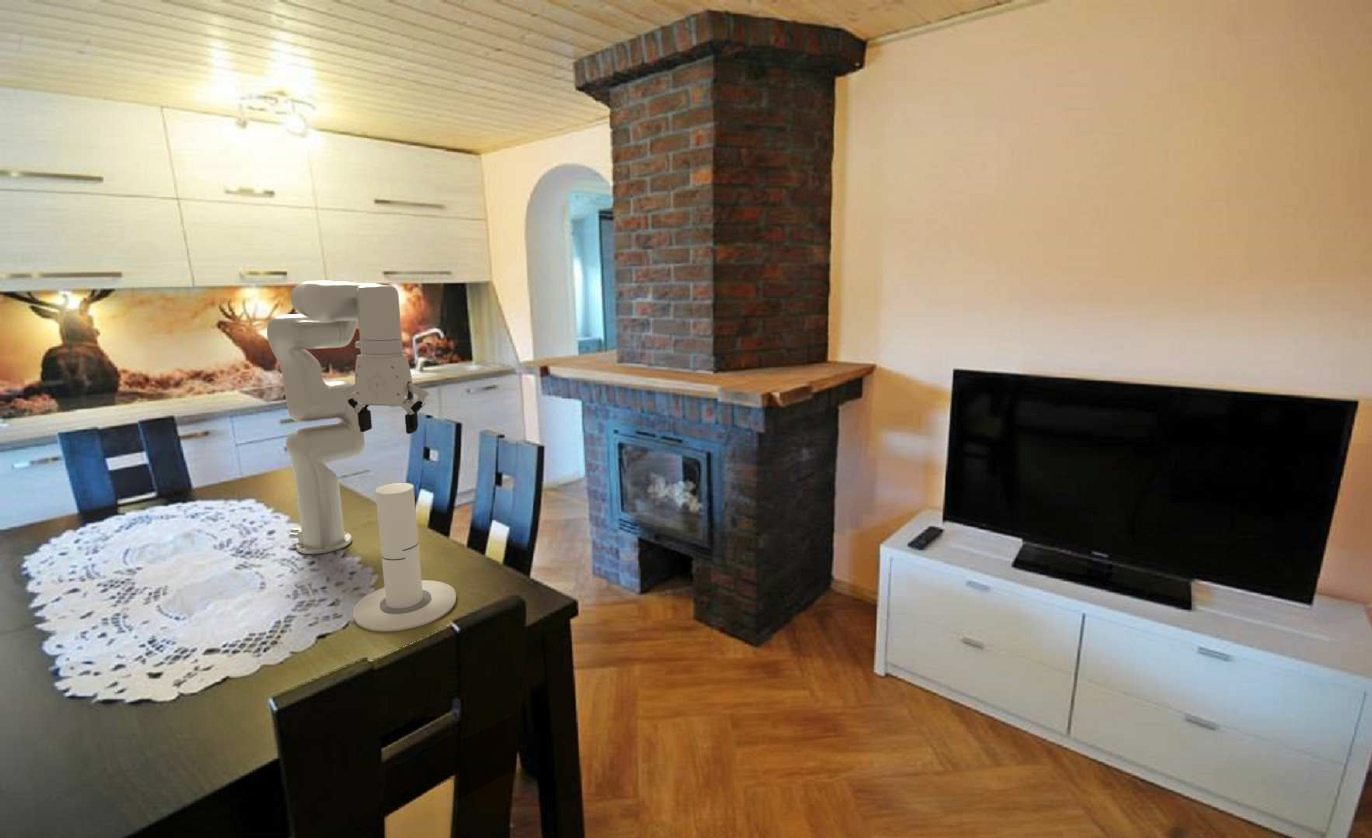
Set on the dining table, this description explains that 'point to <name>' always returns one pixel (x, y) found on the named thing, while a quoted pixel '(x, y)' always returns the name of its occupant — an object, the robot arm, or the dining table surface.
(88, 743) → the dining table surface
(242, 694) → the dining table surface
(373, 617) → the plate
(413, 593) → the cylindrical container
